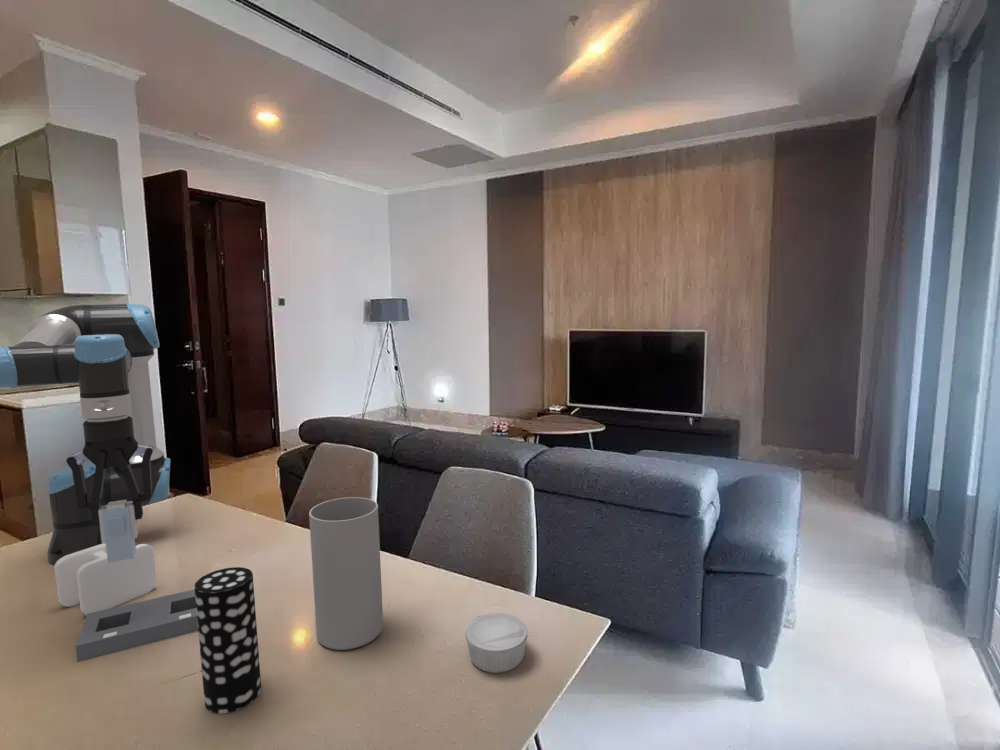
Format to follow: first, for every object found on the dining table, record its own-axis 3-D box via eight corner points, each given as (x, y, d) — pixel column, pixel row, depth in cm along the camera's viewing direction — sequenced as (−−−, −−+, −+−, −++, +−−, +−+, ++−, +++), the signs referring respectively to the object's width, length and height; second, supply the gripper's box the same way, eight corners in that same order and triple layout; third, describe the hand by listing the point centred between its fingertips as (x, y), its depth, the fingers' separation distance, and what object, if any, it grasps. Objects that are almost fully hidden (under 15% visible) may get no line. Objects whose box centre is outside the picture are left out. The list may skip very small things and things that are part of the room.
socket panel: (89, 630, 109) (87, 613, 108) (213, 600, 119) (212, 584, 119) (77, 664, 98) (75, 645, 98) (215, 628, 109) (214, 610, 108)
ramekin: (507, 686, 91) (506, 657, 90) (453, 664, 97) (452, 636, 96) (538, 650, 100) (538, 623, 100) (487, 632, 106) (487, 606, 106)
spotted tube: (218, 679, 94) (208, 568, 91) (268, 676, 94) (260, 565, 92) (195, 715, 85) (184, 594, 83) (250, 711, 86) (241, 591, 84)
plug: (111, 554, 106) (105, 501, 105) (135, 550, 108) (130, 498, 106) (107, 564, 102) (101, 509, 100) (132, 559, 103) (127, 505, 102)
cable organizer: (80, 624, 111) (73, 570, 110) (58, 609, 117) (51, 558, 115) (158, 591, 124) (153, 542, 122) (135, 579, 129) (130, 532, 128)
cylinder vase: (395, 620, 111) (390, 500, 108) (360, 657, 99) (353, 524, 96) (342, 610, 115) (336, 494, 112) (302, 644, 103) (294, 517, 100)
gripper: (44, 426, 95) (59, 556, 97) (160, 416, 102) (171, 536, 105) (55, 419, 101) (69, 540, 104) (163, 410, 109) (173, 523, 112)
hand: (120, 538), depth 105 cm, fingers closed on plug, 4 cm apart
